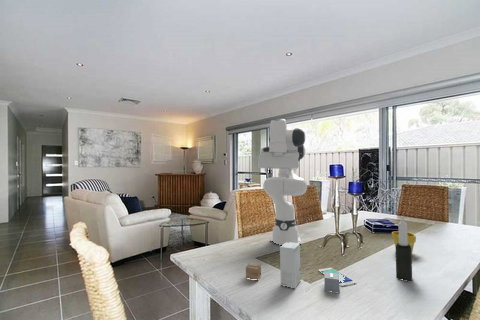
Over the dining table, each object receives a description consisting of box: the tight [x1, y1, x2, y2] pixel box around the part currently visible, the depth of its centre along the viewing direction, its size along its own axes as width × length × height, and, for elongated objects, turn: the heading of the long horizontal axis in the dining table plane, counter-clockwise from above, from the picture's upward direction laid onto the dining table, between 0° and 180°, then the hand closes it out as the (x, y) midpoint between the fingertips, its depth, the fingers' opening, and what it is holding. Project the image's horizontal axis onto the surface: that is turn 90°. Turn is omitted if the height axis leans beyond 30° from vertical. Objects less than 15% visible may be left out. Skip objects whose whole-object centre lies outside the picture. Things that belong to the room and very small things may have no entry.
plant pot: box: [391, 230, 417, 253], centre depth 126 cm, size 10×10×10 cm
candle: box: [395, 215, 413, 282], centre depth 98 cm, size 5×5×25 cm
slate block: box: [323, 272, 340, 294], centre depth 90 cm, size 5×5×5 cm
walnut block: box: [245, 262, 262, 280], centre depth 99 cm, size 5×5×5 cm
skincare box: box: [279, 242, 302, 289], centre depth 95 cm, size 8×6×15 cm
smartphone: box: [318, 267, 357, 287], centre depth 99 cm, size 8×1×15 cm
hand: (277, 177), depth 120 cm, fingers open, 8 cm apart
